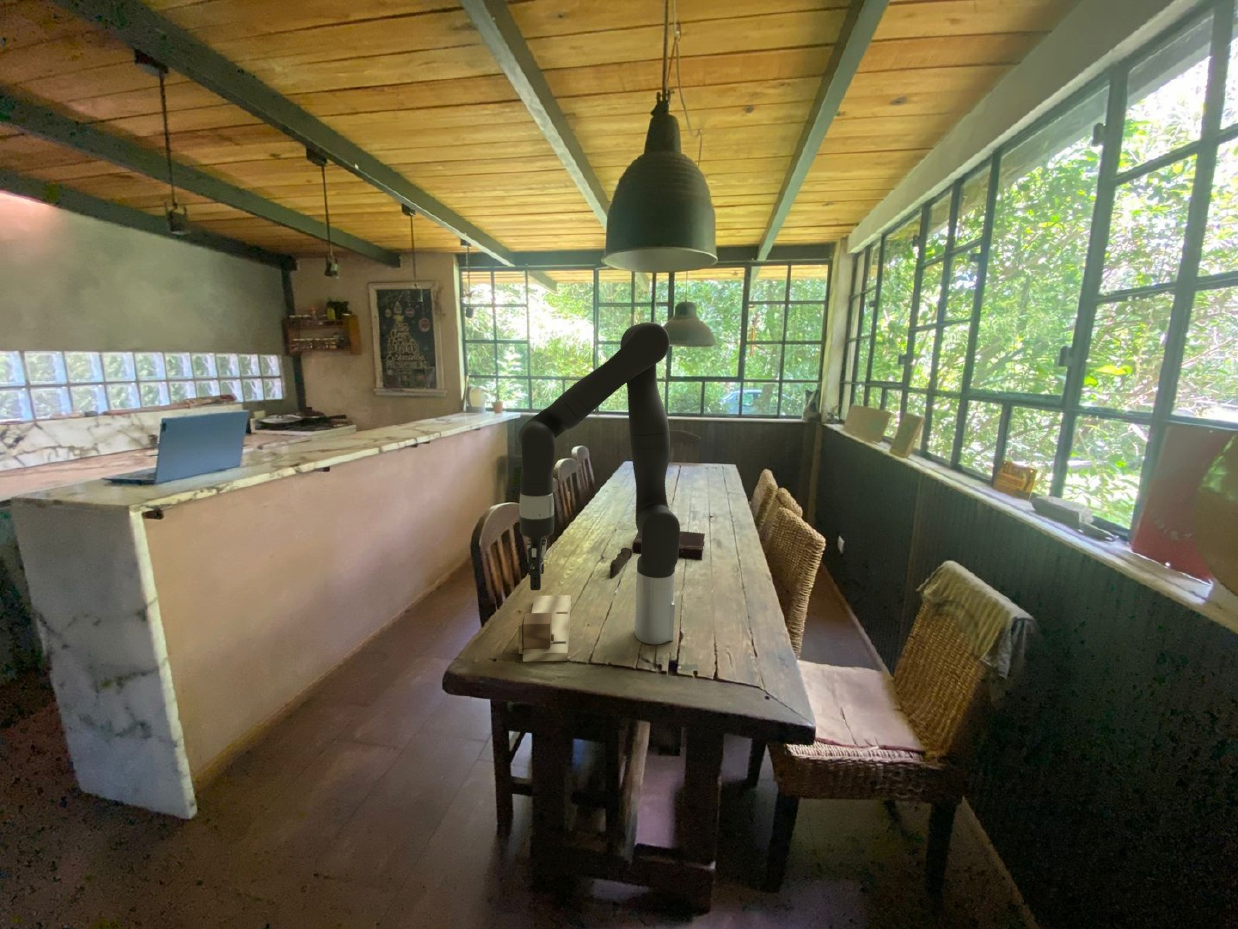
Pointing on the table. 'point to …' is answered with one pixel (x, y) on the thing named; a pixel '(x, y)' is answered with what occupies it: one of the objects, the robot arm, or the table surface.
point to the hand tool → (620, 561)
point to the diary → (680, 545)
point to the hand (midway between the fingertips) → (537, 581)
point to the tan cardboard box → (535, 631)
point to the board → (560, 628)
